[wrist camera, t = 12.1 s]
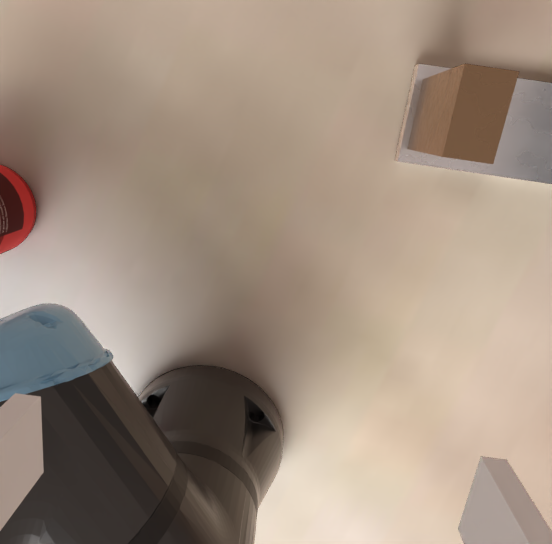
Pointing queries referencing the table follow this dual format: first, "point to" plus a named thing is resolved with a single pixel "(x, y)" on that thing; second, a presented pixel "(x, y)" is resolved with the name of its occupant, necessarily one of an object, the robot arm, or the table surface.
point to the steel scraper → (478, 122)
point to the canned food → (15, 209)
